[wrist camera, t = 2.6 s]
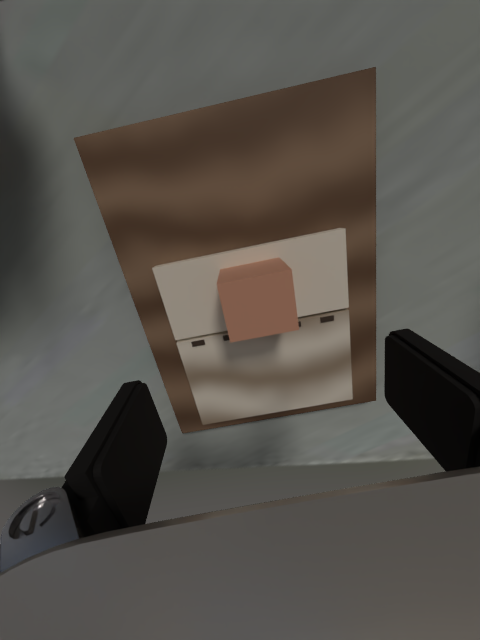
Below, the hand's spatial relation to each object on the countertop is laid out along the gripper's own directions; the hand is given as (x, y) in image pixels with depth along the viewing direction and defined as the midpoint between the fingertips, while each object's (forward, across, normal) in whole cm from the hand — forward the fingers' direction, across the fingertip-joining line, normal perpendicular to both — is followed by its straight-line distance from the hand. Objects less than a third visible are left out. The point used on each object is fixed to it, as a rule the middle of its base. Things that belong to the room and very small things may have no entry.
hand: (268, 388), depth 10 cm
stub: (+15, -1, 0) cm, 15 cm away
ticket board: (+16, -1, +1) cm, 16 cm away
